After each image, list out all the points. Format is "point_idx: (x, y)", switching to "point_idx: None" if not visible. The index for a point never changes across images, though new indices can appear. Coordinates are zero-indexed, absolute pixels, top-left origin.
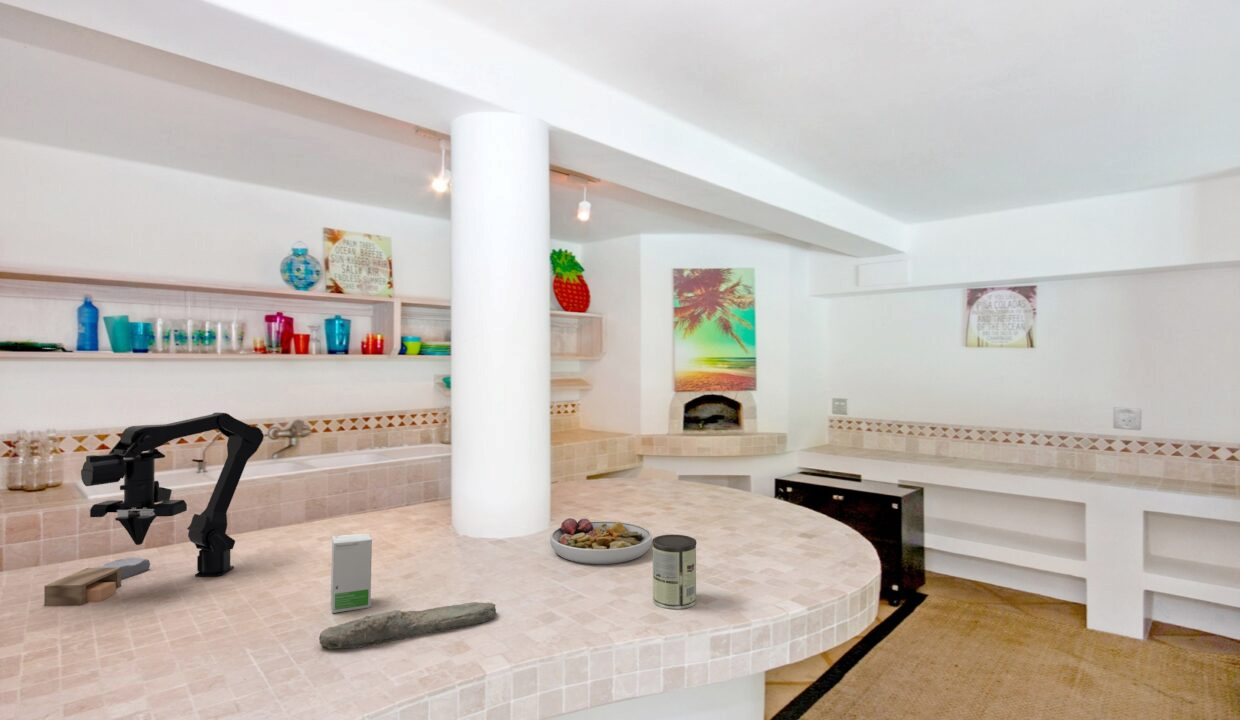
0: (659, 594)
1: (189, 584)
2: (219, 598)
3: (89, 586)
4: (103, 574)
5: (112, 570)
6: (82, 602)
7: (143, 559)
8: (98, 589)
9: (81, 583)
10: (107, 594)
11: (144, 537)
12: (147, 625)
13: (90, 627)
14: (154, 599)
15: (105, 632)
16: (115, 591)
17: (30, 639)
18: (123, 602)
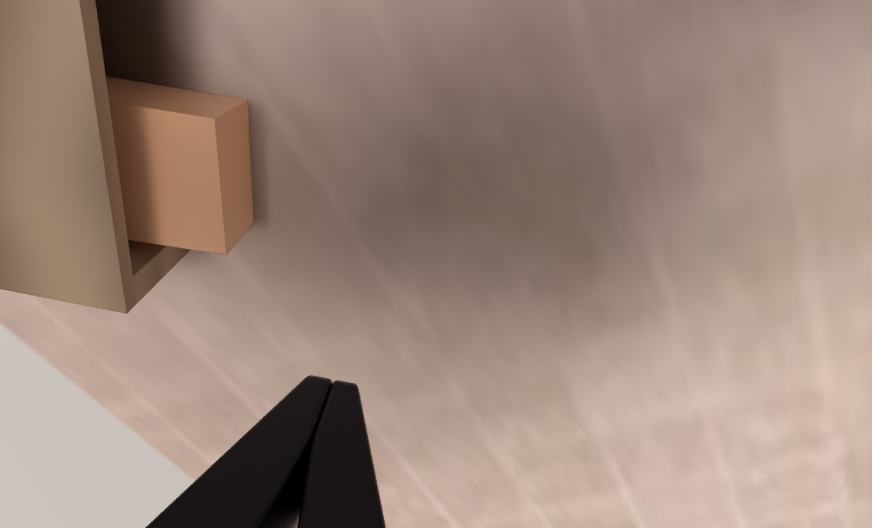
0: None
1: (674, 41)
2: (844, 340)
3: None
4: (82, 114)
5: (63, 2)
6: (183, 248)
7: None
8: (209, 249)
9: (98, 283)
10: (243, 179)
11: (368, 455)
12: (588, 501)
13: (401, 472)
14: (526, 269)
15: (473, 512)
16: (243, 108)
17: None
18: (385, 269)
